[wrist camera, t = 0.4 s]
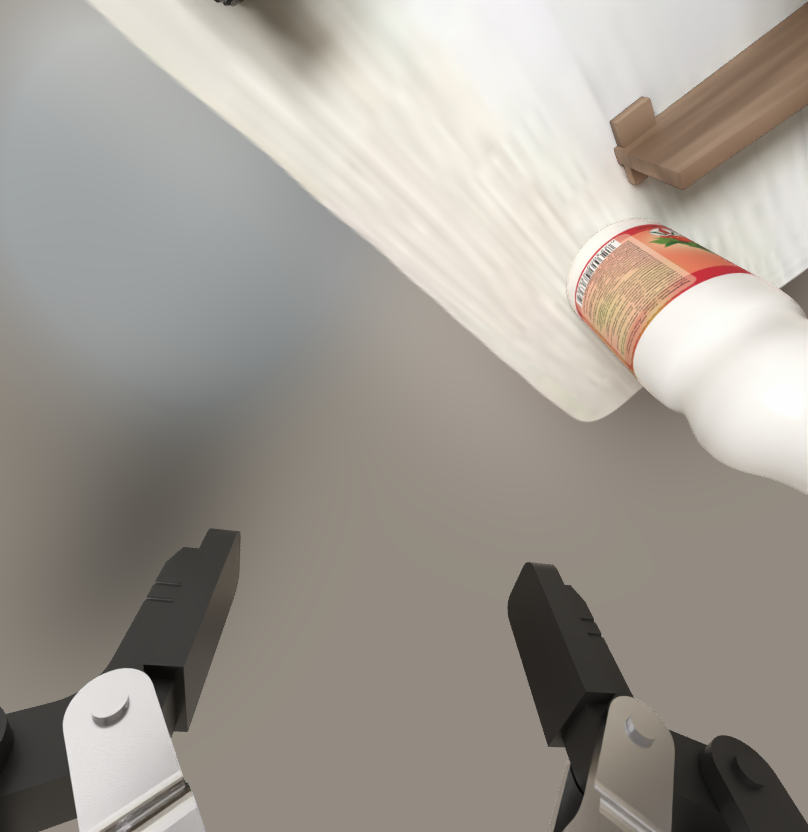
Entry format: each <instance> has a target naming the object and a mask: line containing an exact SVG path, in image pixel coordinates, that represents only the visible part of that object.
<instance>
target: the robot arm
mask: <svg viewBox="0 0 808 832" xmlns="http://www.w3.org/2000/svg"><path fill="white" fill-rule="evenodd" d="M239 569H240V532H239V531H231V530H221V529H212V528H211V529H209V530H208V532H207V534H206V536H205V538H204V540H203V542H202V544H201V546H200V548H199V549H197V548H187V547H183V548H182V549H181V550H180V551H178V552H177V553H176V554H175V555H174V556H173V557H172V558H170V559H169V560H168V561H167V562H166V563H165V565H164V567H163V569H162V570H161V572H160V574H159V576H158V578H157V579H156V582H155V585H153V586H152V588H151V590H150V592H149V594H148V595H147V599H146V601H144V603H143V604H142V606H141V608H140V610H139V612H138V613H137V615H136V617H135V619H134V621H133V622H132V624H131V626H130V628H129V630H128V631H127V633H126V635H125V637H124V639H123V640H122V642H121V644H120V646H119V648H118V650H117V651H116V653H115V655H114V657H113V658H112V660H111V662H110V663H109V665H108V666H107V668H106V669H105V670H104V671H103V673H102V674H101V675H100V676H99V677H97V678H95V679H93V680H92V681H91V682H89V683H88V684H87V685H86V686H84V687H83V688H82V689H81V690H80V691H79V692H77V693H75V694H73V695H71V696H69V697H67V698H64V699H62V700H59V701H56V702H52V703H48V704H44V705H40V706H36V707H32V708H28V709H24V710H20V711H17V712H13V713H9V714H5V713H4V711H3V709H2V708H1V707H0V832H39V831H42V830H45V829H48V828H50V827H53V826H56V825H59V824H62V823H64V822H67V821H70V820H73V819H76V818H78V825H79V831H80V832H205V828H204V825H203V822H202V819H201V816H200V813H199V810H198V807H197V804H196V801H195V799H194V796H193V793H192V791H191V789H190V786H189V785H188V783H186V782H185V780H184V777H183V775H182V772H181V769H180V766H179V763H178V760H177V757H176V754H175V750H174V747H173V744H172V741H171V737H172V734H173V731H180V732H188V730H189V727H190V724H191V721H192V718H193V715H194V712H195V709H196V706H197V703H198V700H199V698H200V695H201V692H202V689H203V686H204V683H205V680H206V677H207V674H208V671H209V668H210V666H211V663H212V659H213V656H214V654H215V651H216V648H217V645H218V642H219V639H220V636H221V634H222V631H223V628H224V625H225V622H226V619H227V616H228V613H229V610H230V607H231V604H232V602H233V599H234V596H235V592H236V588H237V584H238V579H239ZM508 617H509V621H510V625H511V628H512V631H513V634H514V637H515V641H516V644H517V647H518V650H519V654H520V657H521V660H522V663H523V667H524V670H525V673H526V676H527V680H528V683H529V686H530V689H531V693H532V696H533V699H534V702H535V705H536V709H537V712H538V715H539V718H540V722H541V725H542V728H543V731H544V735H545V738H546V741H547V744H548V747H565V748H566V751H567V754H568V757H569V759H568V761H567V762H566V765H565V767H564V771H563V775H562V779H561V783H560V787H559V790H558V794H557V798H556V801H555V806H554V809H553V813H552V817H551V821H550V824H549V828H548V832H808V824H807V823H806V821H805V819H804V818H803V816H802V815H801V813H800V812H799V810H798V808H797V807H796V805H795V804H794V802H793V801H792V799H791V797H790V796H789V794H788V793H787V791H786V789H785V788H784V786H783V785H782V783H781V782H780V780H779V779H778V777H777V775H776V774H775V773H774V771H773V770H772V769H771V767H770V766H769V765H768V763H767V762H766V761H765V760H764V759H763V758H762V757H761V756H760V755H759V754H758V753H757V752H756V751H755V750H753V749H752V748H751V747H749V746H748V745H746V744H745V743H743V742H742V741H740V740H738V739H736V738H733V737H730V736H722V735H721V736H717V737H716V738H714V739H713V740H712V741H711V742H710V743H709V744H708V745H705V744H703V743H700V742H698V741H695V740H693V739H690V738H688V737H685V736H683V735H680V734H678V733H676V732H673V731H671V730H669V729H668V728H667V726H666V725H665V723H664V722H663V721H662V719H661V718H660V717H659V716H658V715H657V714H656V713H655V711H653V710H652V709H651V708H650V707H649V706H647V705H646V704H644V703H643V702H641V701H639V700H637V699H635V698H634V697H633V695H632V693H631V692H630V689H629V688H628V686H627V684H626V682H625V680H624V678H623V676H622V674H621V672H620V670H619V668H618V666H617V664H616V662H615V660H614V658H613V656H612V654H611V652H610V650H609V648H608V646H607V644H606V642H605V640H604V638H602V637H601V632H600V630H599V628H598V626H597V624H596V623H594V618H593V616H592V614H591V612H590V610H589V609H588V607H587V604H586V602H585V601H584V600H583V599H582V598H581V597H580V595H579V594H578V593H577V592H576V591H575V590H574V589H573V588H572V586H571V585H564V583H563V581H562V579H561V576H560V574H559V572H558V570H557V569H556V567H555V566H554V565H550V564H540V563H531V562H527V563H525V565H524V566H523V568H522V570H521V573H520V575H519V577H518V579H517V581H516V583H515V585H514V588H513V590H512V592H511V594H510V596H509V600H508Z"/></svg>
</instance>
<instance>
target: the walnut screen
mask: <svg viewBox="0 0 808 832" xmlns="http://www.w3.org/2000/svg"><path fill="white" fill-rule="evenodd" d="M806 105H808V2H807V3H806V4H804V5H803V6H802V7H801V8H799V9H798V10H797V11H795V12H794V13H793V14H791V15H790V16H789V17H787V18H786V19H785V20H783V21H782V22H781V23H779V24H778V25H777V26H775V27H774V28H773V29H771V30H770V31H769V32H767V33H766V34H765V35H763V36H762V37H761V38H759V39H758V40H757V41H756V42H754V43H753V44H752V45H750V46H749V47H748V48H746V49H745V50H744V51H742V52H741V53H740V54H738V55H737V56H736V57H734V58H733V59H732V60H730V61H729V62H728V63H726V64H725V65H724V66H722V67H721V68H720V69H718V70H717V71H716V72H715V73H713V74H712V75H711V76H709V77H708V78H707V79H705V80H704V81H703V82H701V83H700V84H699V85H697V86H696V87H695V88H693V89H692V90H691V91H689V92H688V93H687V94H685V95H684V96H683V97H681V98H680V99H679V100H677V101H676V102H675V103H673V104H672V105H671V106H670V107H668V108H667V109H666V110H664V111H663V112H662V113H660V114H659V115H658V116H656V117H655V116H654V112H653V108H652V104H651V100H650V98H648V97H640V98H639V99H638V100H637V101H635V102H634V103H633V104H632V105H630V106H629V107H628V108H626V109H625V110H624V111H623V112H621V113H620V114H619V115H617V116H616V117H615V118H614V119H612V120H611V121H610V124H611V127H612V131H613V134H614V137H615V140H616V143H617V147H615V148H614V151H615V154H616V158H617V161H618V163H619V164H622V165H624V168H625V171H626V174H627V177H628V180H629V182H630V183H632V184H634V185H637V184H638V183H640V182H641V181H642V180H644V179H645V178H647V177H648V176H651V177H653V178H655V179H658V180H660V181H663V182H665V183H667V184H670V185H672V186H675V187H677V188H679V189H682V190H684V189H685V188H687V187H688V186H690V185H691V184H693V183H694V182H696V181H697V180H698V179H700V178H701V177H703V176H704V175H706V174H707V173H709V172H710V171H712V170H713V169H714V168H716V167H717V166H719V165H720V164H722V163H723V162H725V161H726V160H728V159H729V158H731V157H732V156H733V155H735V154H736V153H738V152H739V151H741V150H742V149H744V148H745V147H747V146H748V145H749V144H751V143H752V142H754V141H755V140H757V139H758V138H760V137H761V136H763V135H764V134H765V133H767V132H768V131H770V130H771V129H773V128H774V127H776V126H777V125H779V124H780V123H782V122H783V121H784V120H786V119H787V118H789V117H790V116H792V115H793V114H795V113H796V112H798V111H799V110H800V109H802V108H803V107H805V106H806Z"/></svg>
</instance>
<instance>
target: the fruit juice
mask: <svg viewBox="0 0 808 832" xmlns="http://www.w3.org/2000/svg"><path fill="white" fill-rule="evenodd" d="M567 295H568V299H569V301H570V304H571V305H572V307H573V309H574V310H575V312H576V313H577V314H578V315H579V316H580V317H581V319H582V320H583V321H584V322H585V323H586V324H587V325H588V326H589V327H590V328H591V329H592V331H593V332H594V333H595V334H596V335H597V336H598V337H599V338H600V339H601V340H602V341H603V342H604V344H605V345H606V346H607V347H608V348H609V349H610V350H611V351H612V352H613V353H614V354H615V356H616V357H617V358H618V359H619V360H620V361H621V362H622V363H623V364H624V365H625V366H626V367H627V369H628V370H629V371H630V372H631V373H632V374H633V375H634V376H635V377H636V379H637V380H638V381H639V382H640V383H641V384H642V386H643V387H644V388H645V389H646V390H647V391H648V392H650V393H651V394H652V395H653V396H654V397H655V398H656V399H657V400H658V401H659V402H661V403H662V404H663V405H665V406H666V407H667V408H669V409H671V410H673V411H675V412H677V413H680V414H683V415H685V417H686V419H687V421H688V424H689V426H690V428H691V430H692V432H693V434H694V436H695V437H696V439H697V441H698V442H699V443H700V445H701V446H702V447H703V448H705V450H707V451H708V452H709V453H710V454H711V455H712V456H713V457H714V458H716V459H717V460H718V461H720V462H722V463H723V464H725V465H727V466H729V467H731V468H734V469H736V470H739V471H743V472H746V473H750V474H754V475H758V476H763V477H766V478H770V479H773V480H776V481H779V482H781V483H784V484H786V485H789V486H791V487H793V488H795V489H797V490H799V491H801V492H802V493H804V494H806V495H808V319H807V318H806V316H805V314H804V312H803V310H802V308H801V307H800V306H799V305H798V304H797V303H796V302H795V301H794V300H793V299H792V298H791V297H789V296H788V295H787V294H785V293H784V292H783V291H781V290H780V289H778V288H777V287H775V286H774V285H772V284H770V283H769V282H767V281H765V280H764V279H762V278H760V277H758V276H756V275H754V274H752V273H750V272H748V271H746V270H744V269H742V268H741V267H739V266H737V265H735V264H733V263H731V262H730V261H728V260H726V259H724V258H722V257H721V256H719V255H717V254H715V253H713V252H711V251H710V250H708V249H706V248H704V247H702V246H700V245H699V244H697V243H695V242H693V241H691V240H689V239H688V238H686V237H684V236H682V235H680V234H678V233H677V232H675V231H673V230H671V229H669V228H667V227H666V226H664V225H662V224H660V223H658V222H655V221H652V220H648V219H643V218H631V219H625V220H621V221H618V222H615V223H613V224H610V225H608V226H606V227H605V228H603V229H601V230H600V231H599V232H597V233H596V234H595V235H593V236H592V237H591V238H590V239H589V240H588V241H587V242H586V243H585V244H584V245H583V247H582V248H581V249H580V250H579V252H578V253H577V255H576V256H575V258H574V260H573V262H572V264H571V267H570V269H569V272H568V277H567Z"/></svg>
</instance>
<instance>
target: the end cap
mask: <svg viewBox="0 0 808 832" xmlns="http://www.w3.org/2000/svg"><path fill="white" fill-rule="evenodd" d="M215 1H216V2H222V3H223V4H224V5H228V6H229V5H231V6H235V5H236V4H237V3H238V2H241V1H242V0H215Z"/></svg>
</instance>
